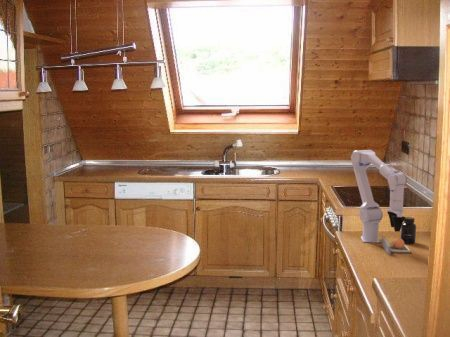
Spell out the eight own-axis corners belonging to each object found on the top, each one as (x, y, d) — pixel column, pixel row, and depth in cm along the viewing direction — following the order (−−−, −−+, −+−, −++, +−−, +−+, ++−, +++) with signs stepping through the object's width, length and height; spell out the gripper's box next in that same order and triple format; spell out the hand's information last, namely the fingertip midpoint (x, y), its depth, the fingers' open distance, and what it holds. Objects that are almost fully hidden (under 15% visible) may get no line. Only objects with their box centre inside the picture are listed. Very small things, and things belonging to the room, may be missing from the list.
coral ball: (391, 247, 238) (391, 236, 237) (402, 247, 237) (402, 236, 237) (394, 250, 233) (394, 239, 232) (405, 250, 232) (406, 239, 232)
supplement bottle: (405, 245, 243) (406, 219, 241) (397, 241, 249) (398, 216, 248) (418, 243, 245) (419, 218, 243) (409, 240, 251) (410, 215, 250)
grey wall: (381, 244, 244) (381, 236, 243) (383, 244, 244) (384, 236, 243) (388, 254, 228) (388, 245, 227) (390, 254, 228) (390, 245, 227)
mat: (385, 246, 241) (385, 244, 241) (405, 246, 240) (406, 244, 240) (390, 253, 230) (390, 250, 230) (411, 253, 229) (411, 251, 229)
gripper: (384, 196, 241) (383, 225, 242) (390, 202, 226) (389, 233, 228) (399, 196, 240) (398, 225, 242) (407, 203, 226) (406, 233, 227)
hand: (395, 229), depth 235 cm, fingers open, 7 cm apart
